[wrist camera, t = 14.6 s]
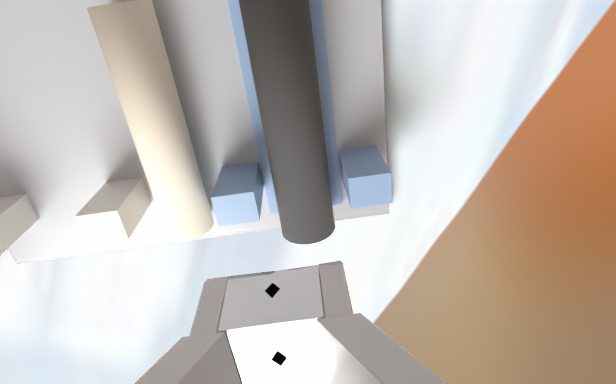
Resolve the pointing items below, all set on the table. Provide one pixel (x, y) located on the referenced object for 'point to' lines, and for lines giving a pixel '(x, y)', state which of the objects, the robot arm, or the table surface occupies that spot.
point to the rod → (153, 114)
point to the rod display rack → (198, 115)
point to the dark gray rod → (290, 114)
